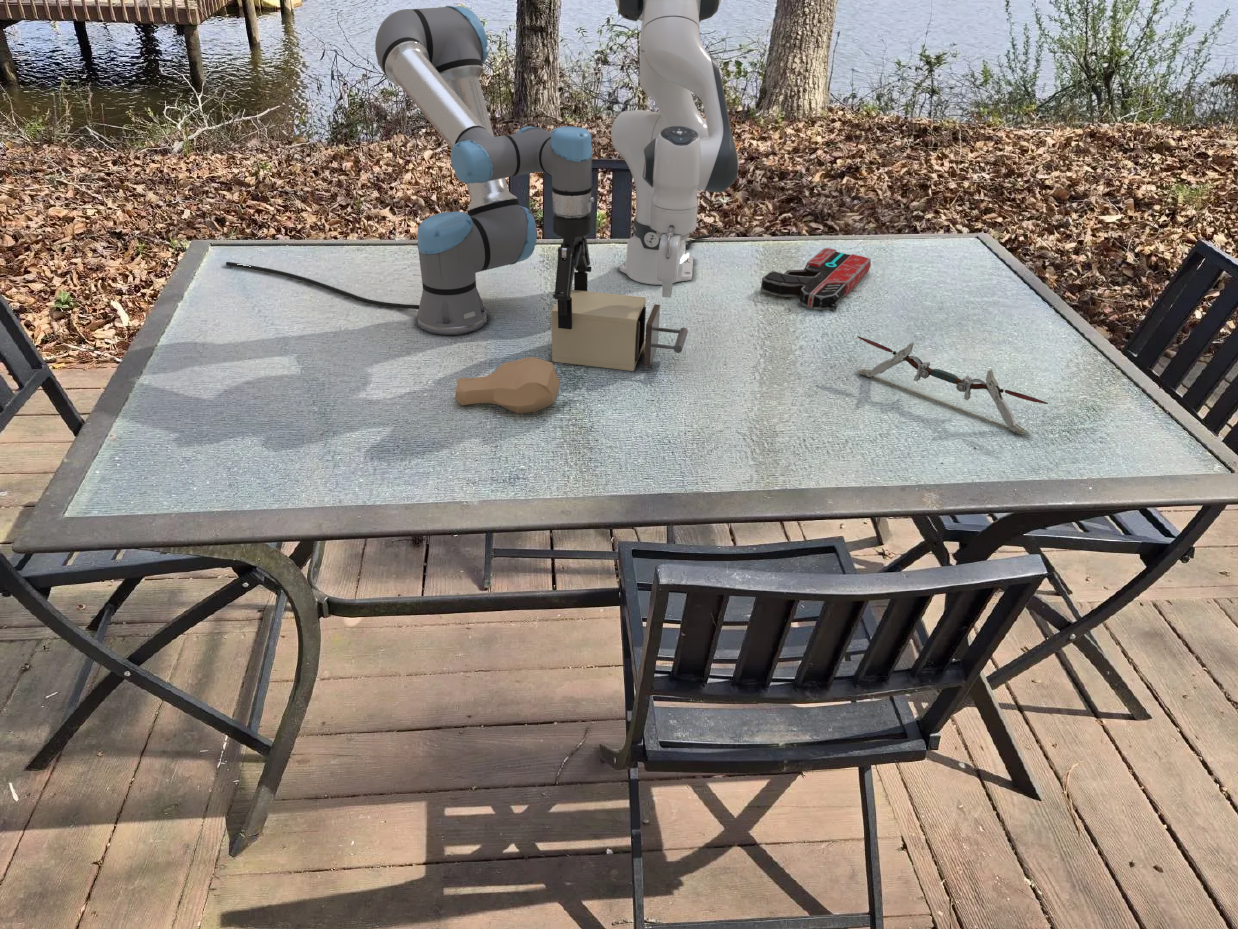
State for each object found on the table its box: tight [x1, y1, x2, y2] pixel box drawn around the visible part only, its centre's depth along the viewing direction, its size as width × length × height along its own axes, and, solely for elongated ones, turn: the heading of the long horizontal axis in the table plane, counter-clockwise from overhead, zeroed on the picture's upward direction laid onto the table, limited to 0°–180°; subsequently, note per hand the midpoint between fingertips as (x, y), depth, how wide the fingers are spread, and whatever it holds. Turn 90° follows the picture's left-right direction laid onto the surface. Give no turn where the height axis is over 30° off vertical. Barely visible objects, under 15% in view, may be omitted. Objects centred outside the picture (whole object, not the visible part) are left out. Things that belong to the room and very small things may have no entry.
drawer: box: [635, 303, 689, 368], centre depth 181 cm, size 22×10×9 cm, turn 79°
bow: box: [856, 335, 1049, 435], centre depth 169 cm, size 39×2×10 cm, turn 47°
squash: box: [454, 356, 561, 414], centre depth 164 cm, size 11×20×9 cm, turn 90°
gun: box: [760, 247, 872, 311], centre depth 219 cm, size 4×31×19 cm
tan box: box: [550, 289, 647, 372], centre depth 182 cm, size 17×12×12 cm, turn 79°
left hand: (573, 314), depth 181 cm, fingers open, 13 cm apart
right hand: (669, 287), depth 175 cm, fingers open, 8 cm apart
